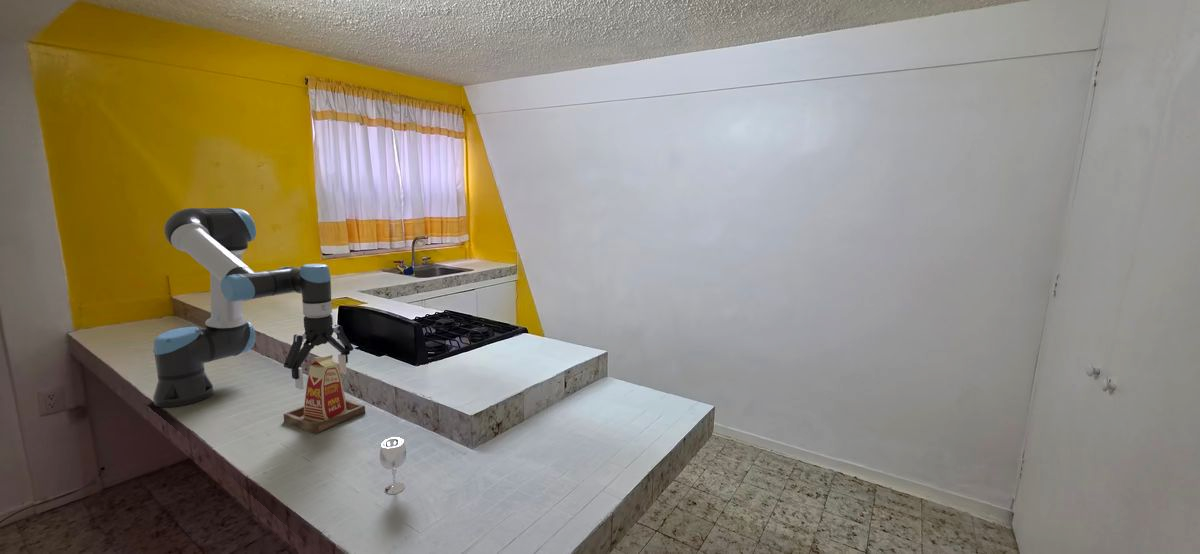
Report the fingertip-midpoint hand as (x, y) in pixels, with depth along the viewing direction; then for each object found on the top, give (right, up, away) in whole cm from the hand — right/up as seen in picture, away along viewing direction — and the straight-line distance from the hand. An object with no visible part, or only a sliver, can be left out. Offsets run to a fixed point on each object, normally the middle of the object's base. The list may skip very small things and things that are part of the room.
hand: (322, 380), depth 142 cm
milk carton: (0, -12, +2) cm, 12 cm away
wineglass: (+37, -19, -32) cm, 53 cm away
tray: (0, -12, +2) cm, 12 cm away
